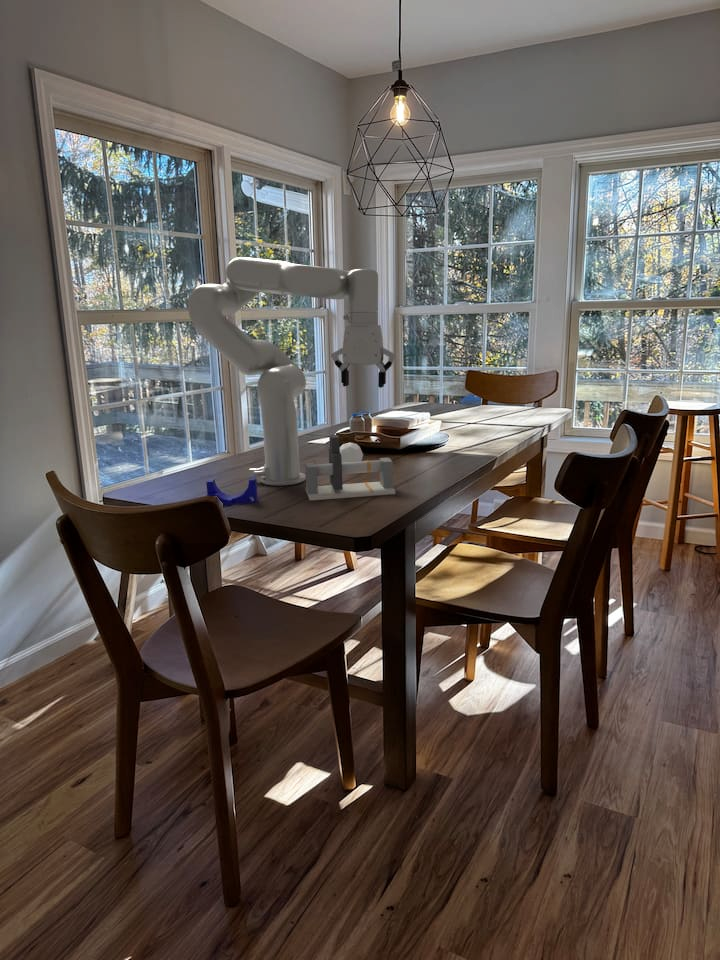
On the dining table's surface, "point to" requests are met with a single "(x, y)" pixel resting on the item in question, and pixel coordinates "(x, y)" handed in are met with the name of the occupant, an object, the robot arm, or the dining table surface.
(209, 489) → the blue pipe cradle
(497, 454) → the dining table surface
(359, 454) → the geometric ball
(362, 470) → the pipe stand
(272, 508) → the dining table surface
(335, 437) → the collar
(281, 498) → the dining table surface
